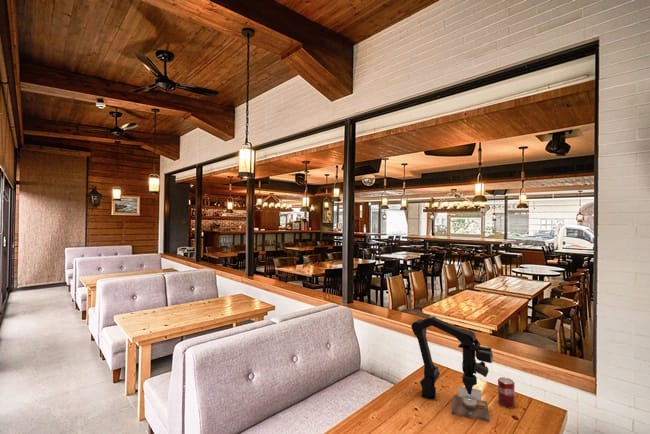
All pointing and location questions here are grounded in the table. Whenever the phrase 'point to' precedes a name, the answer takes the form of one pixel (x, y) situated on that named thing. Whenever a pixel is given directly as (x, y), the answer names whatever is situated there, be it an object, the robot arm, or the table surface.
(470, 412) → the post base
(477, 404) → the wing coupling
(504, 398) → the soda can
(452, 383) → the table surface
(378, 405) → the table surface
